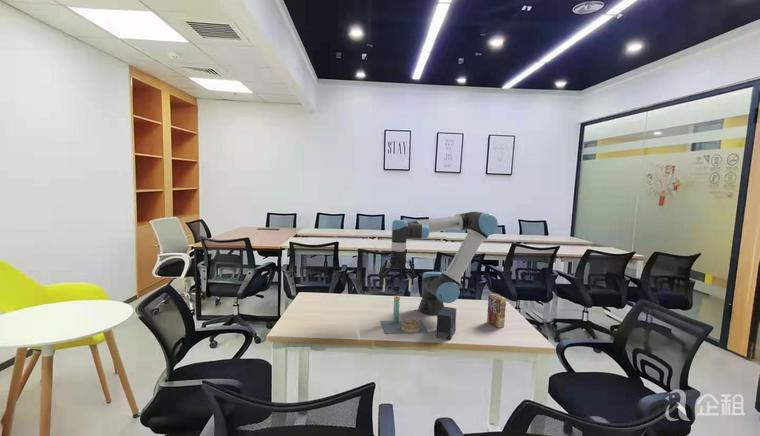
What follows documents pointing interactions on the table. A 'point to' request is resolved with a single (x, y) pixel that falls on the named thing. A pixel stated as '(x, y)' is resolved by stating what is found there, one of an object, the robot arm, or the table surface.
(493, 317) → the candy box
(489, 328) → the table surface
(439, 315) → the small box
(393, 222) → the robot arm
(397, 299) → the teal and tan cylinder
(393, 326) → the mat
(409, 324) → the bead
